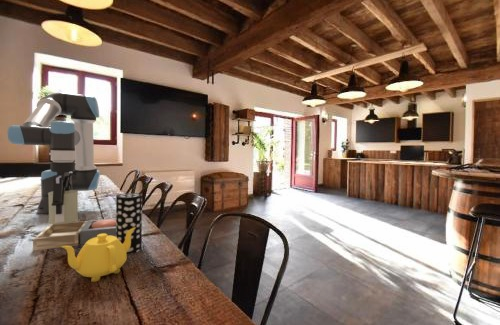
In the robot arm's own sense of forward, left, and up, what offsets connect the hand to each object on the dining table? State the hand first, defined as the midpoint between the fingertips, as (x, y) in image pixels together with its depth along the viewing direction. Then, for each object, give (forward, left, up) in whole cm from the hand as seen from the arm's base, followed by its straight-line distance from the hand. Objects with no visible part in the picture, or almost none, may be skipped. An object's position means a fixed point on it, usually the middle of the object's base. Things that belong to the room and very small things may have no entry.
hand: (63, 218), depth 93 cm
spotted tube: (+19, +24, -8) cm, 32 cm away
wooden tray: (0, 0, -8) cm, 8 cm away
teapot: (+34, +18, -8) cm, 39 cm away
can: (0, 0, -1) cm, 1 cm away
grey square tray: (+1, +14, -8) cm, 16 cm away
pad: (+1, +14, -5) cm, 15 cm away
